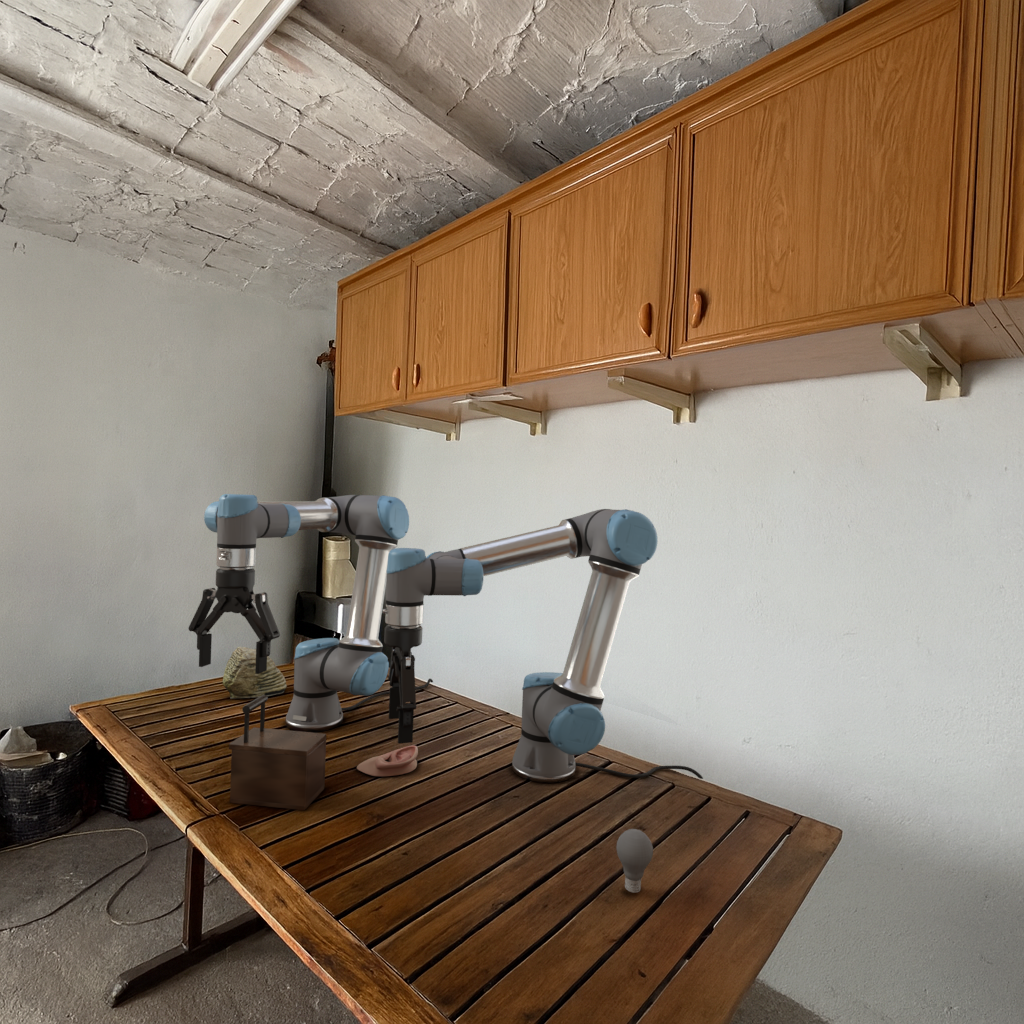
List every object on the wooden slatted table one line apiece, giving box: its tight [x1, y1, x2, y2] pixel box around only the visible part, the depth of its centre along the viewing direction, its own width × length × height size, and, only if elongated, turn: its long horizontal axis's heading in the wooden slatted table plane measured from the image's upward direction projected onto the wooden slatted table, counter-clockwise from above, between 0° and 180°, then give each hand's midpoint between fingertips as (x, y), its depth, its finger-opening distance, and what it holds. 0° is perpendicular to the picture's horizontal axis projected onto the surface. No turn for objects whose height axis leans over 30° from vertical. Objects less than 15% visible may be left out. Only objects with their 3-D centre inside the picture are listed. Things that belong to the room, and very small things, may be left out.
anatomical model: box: [356, 744, 419, 777], centre depth 149 cm, size 13×4×12 cm
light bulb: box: [615, 828, 654, 894], centre depth 106 cm, size 6×6×10 cm
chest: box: [229, 738, 327, 811], centre depth 133 cm, size 16×10×11 cm, turn 83°
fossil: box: [222, 646, 288, 699], centre depth 198 cm, size 9×18×15 cm, turn 132°
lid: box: [228, 695, 327, 756], centre depth 133 cm, size 17×10×9 cm, turn 83°
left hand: (232, 668), depth 133 cm, fingers open, 13 cm apart
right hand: (399, 729), depth 128 cm, fingers open, 13 cm apart
